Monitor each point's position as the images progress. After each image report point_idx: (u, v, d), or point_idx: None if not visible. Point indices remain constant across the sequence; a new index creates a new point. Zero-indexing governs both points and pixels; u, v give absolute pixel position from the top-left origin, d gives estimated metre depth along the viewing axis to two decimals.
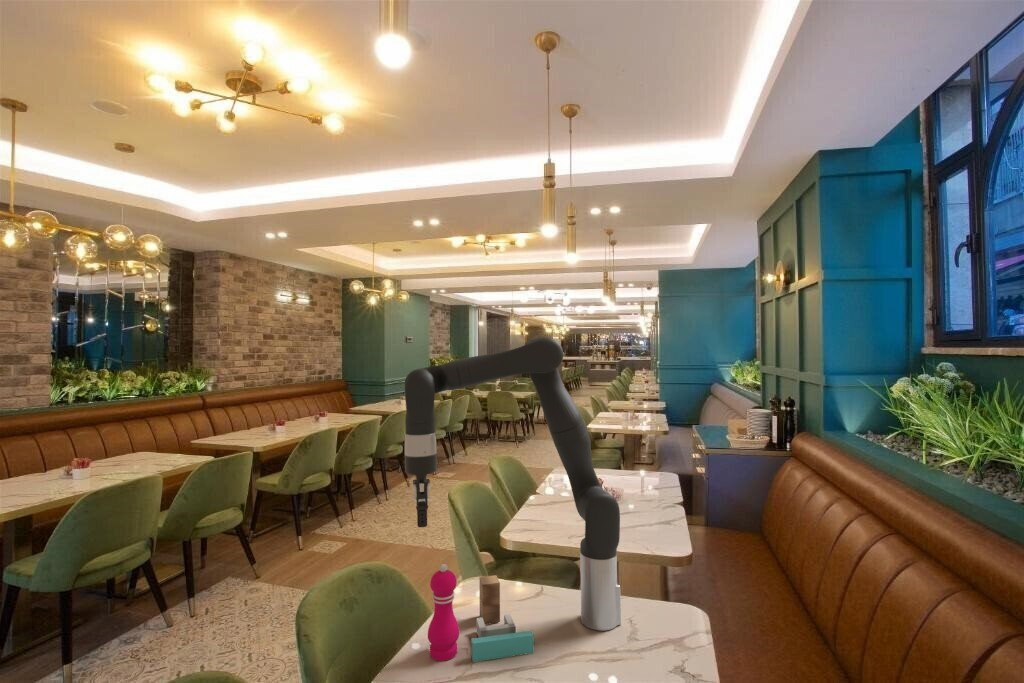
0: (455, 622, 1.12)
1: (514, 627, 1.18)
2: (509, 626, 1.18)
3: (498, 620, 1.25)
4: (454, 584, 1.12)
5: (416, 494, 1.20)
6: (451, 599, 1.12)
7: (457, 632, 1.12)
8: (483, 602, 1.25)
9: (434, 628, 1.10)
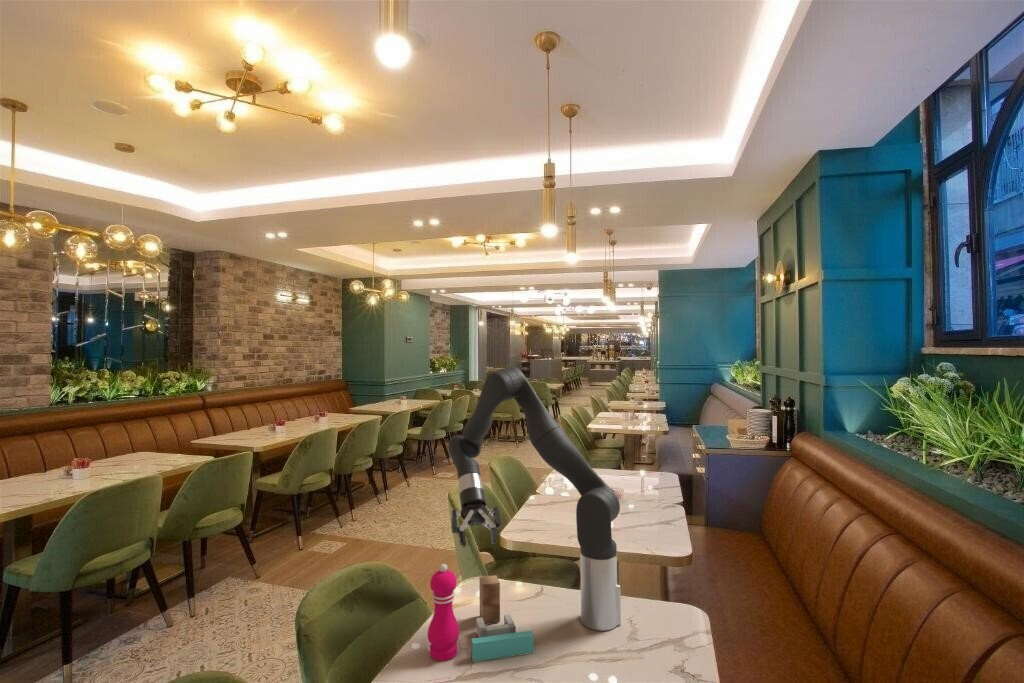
0: (455, 622, 1.12)
1: (514, 627, 1.18)
2: (509, 626, 1.18)
3: (498, 620, 1.25)
4: (454, 584, 1.12)
5: (486, 526, 1.44)
6: (451, 599, 1.12)
7: (457, 632, 1.12)
8: (483, 602, 1.25)
9: (434, 628, 1.10)
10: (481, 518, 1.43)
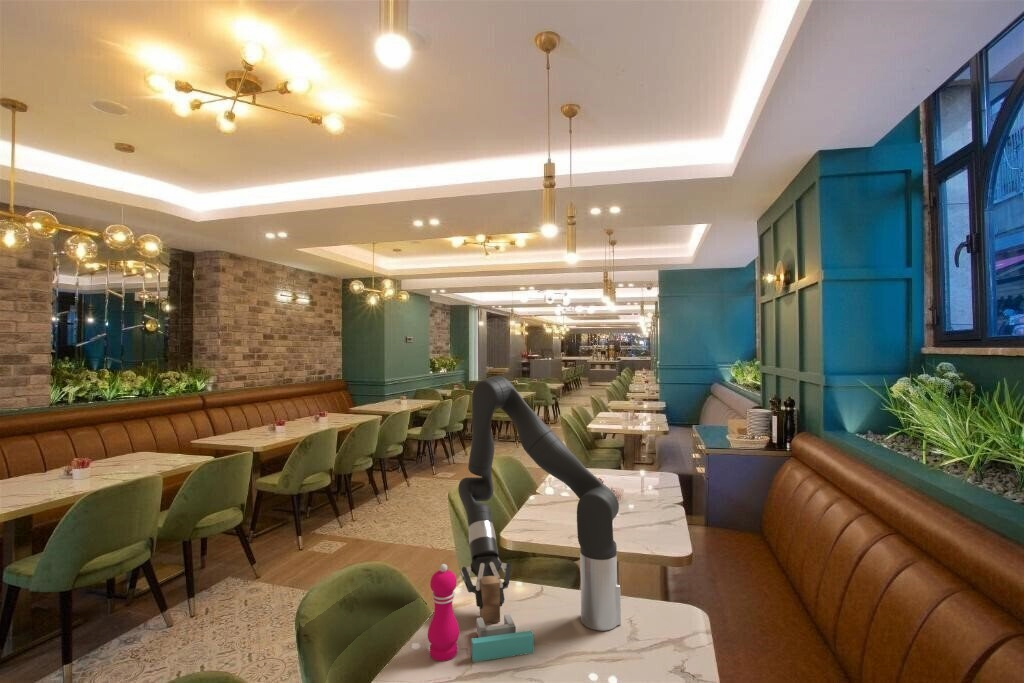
0: (455, 622, 1.12)
1: (514, 627, 1.18)
2: (509, 626, 1.18)
3: (498, 620, 1.25)
4: (454, 584, 1.12)
5: None
6: (451, 599, 1.12)
7: (457, 632, 1.12)
8: (483, 602, 1.25)
9: (434, 628, 1.10)
10: (490, 572, 1.31)
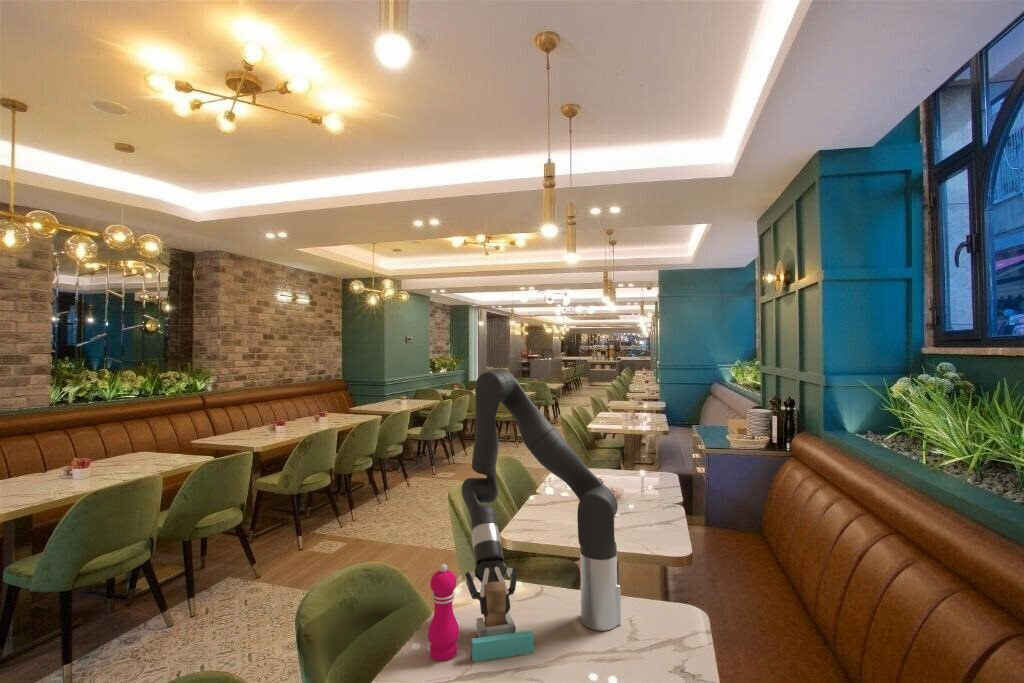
0: (455, 622, 1.12)
1: (514, 627, 1.18)
2: (509, 626, 1.18)
3: None
4: (454, 584, 1.12)
5: None
6: (451, 599, 1.12)
7: (457, 632, 1.12)
8: (488, 609, 1.18)
9: (434, 628, 1.10)
10: (495, 578, 1.24)
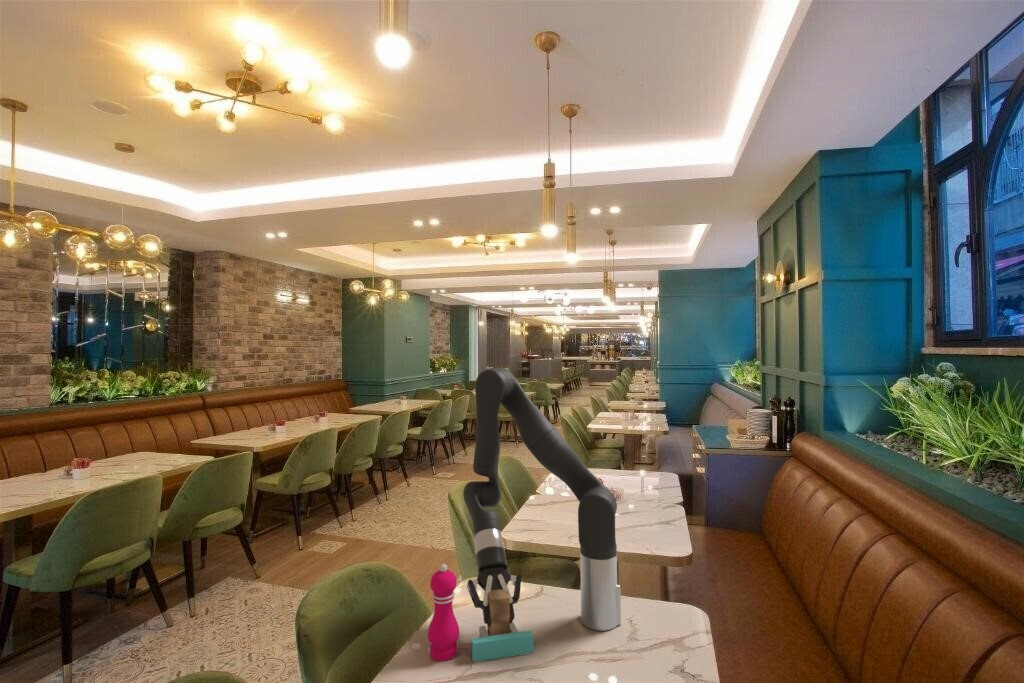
0: (455, 622, 1.12)
1: None
2: None
3: None
4: (454, 584, 1.12)
5: None
6: (451, 599, 1.12)
7: (457, 632, 1.12)
8: (491, 619, 1.14)
9: (434, 628, 1.10)
10: (499, 586, 1.20)
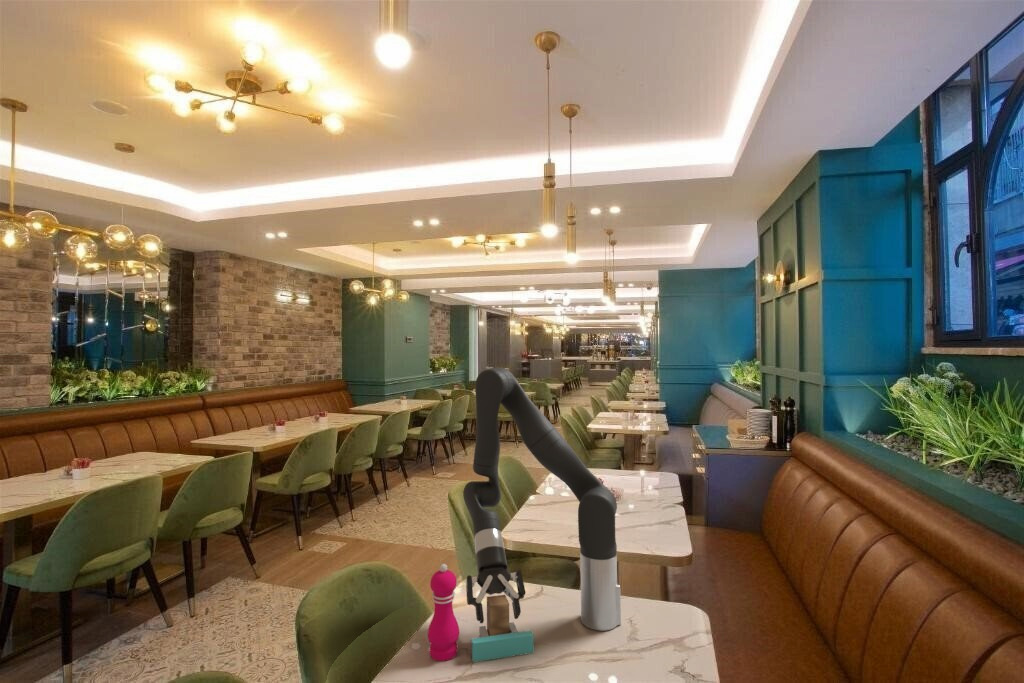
0: (455, 622, 1.12)
1: None
2: None
3: None
4: (454, 584, 1.12)
5: (507, 595, 1.21)
6: (451, 599, 1.12)
7: (457, 632, 1.12)
8: (491, 625, 1.14)
9: (434, 628, 1.10)
10: (501, 585, 1.20)
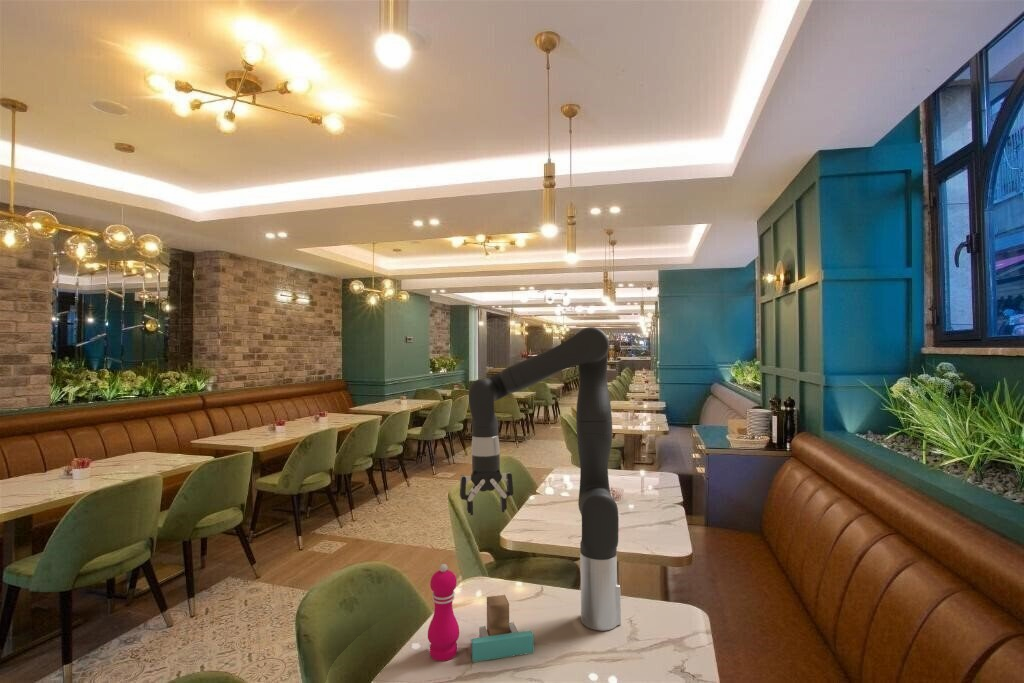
0: (455, 622, 1.12)
1: None
2: None
3: None
4: (454, 584, 1.12)
5: None
6: (451, 599, 1.12)
7: (457, 632, 1.12)
8: (491, 625, 1.14)
9: (434, 628, 1.10)
10: (492, 487, 1.32)
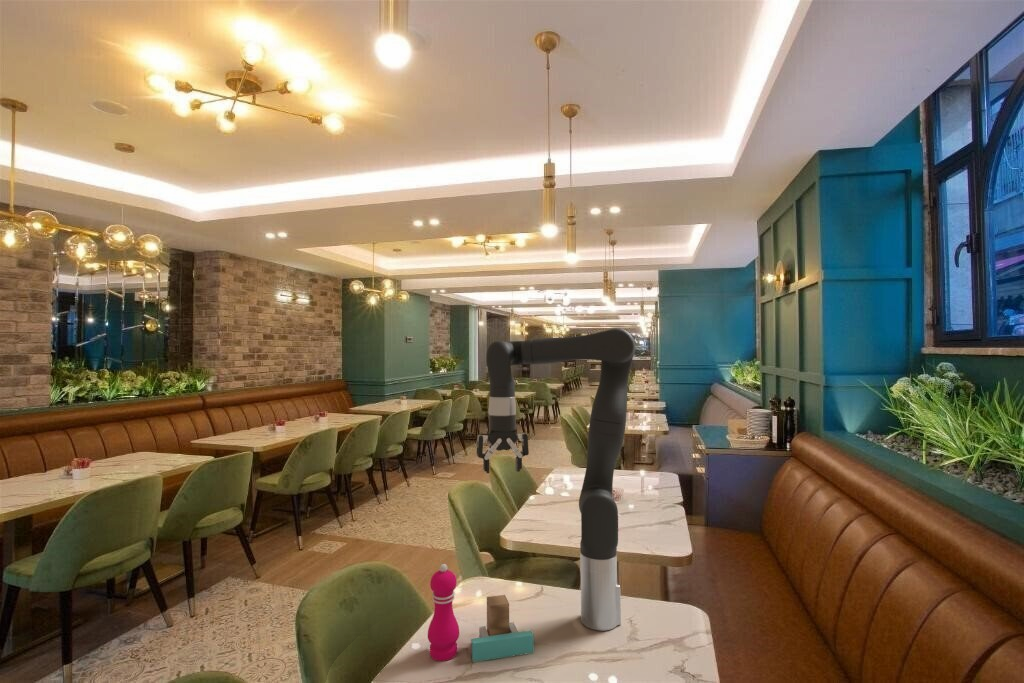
0: (455, 622, 1.12)
1: None
2: None
3: None
4: (454, 584, 1.12)
5: None
6: (451, 599, 1.12)
7: (457, 632, 1.12)
8: (491, 625, 1.14)
9: (434, 628, 1.10)
10: (508, 446, 1.35)
